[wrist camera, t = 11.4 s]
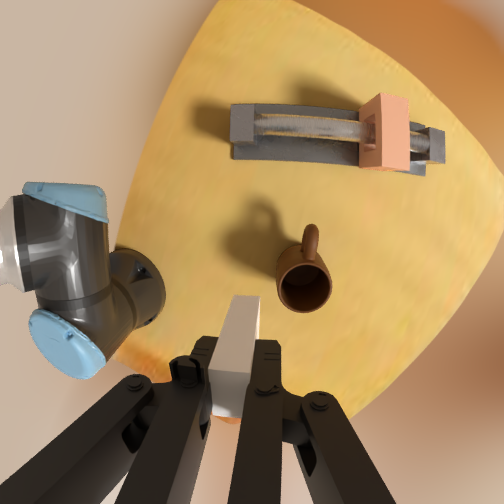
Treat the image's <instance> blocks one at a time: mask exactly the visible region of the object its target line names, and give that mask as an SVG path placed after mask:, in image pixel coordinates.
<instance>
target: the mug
mask: <svg viewBox="0 0 504 504" xmlns="http://www.w3.org/2000/svg"><path fill="white" fill-rule="evenodd" d="M318 240H319V231H318V228H317V226H316V225H314V224H309V225H307V226H306V227H305V230H304V233H303V238H302V244H301V245H296V246H292V247H290V248H288V249H287V250H285V251H284V252H283V253H282V254H281V256H280V257H279V259H278V262H277V269H276V285H277V291H278V296H279V298H280V300H281V302H282V303H283V304H284V305H285V306H286V307H287V308H288V309H290V310H292V311H294V312H298V313H309V312H313V311H315V310H317V309H319V308H321V307H322V306H323V305H324V304H325V303H326V302H327V301H328V299H329V297H330V295H331V292H332V280H331V277H330V273H329V271H328V269H327V267H326V265H325V263H324V262H323V260H322V258H321V257H320V255H319V254H318V253H317V252H316V251H317V247H318Z"/></svg>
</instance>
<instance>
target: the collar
mask: <svg viewBox="0 0 504 504" xmlns="http://www.w3.org/2000/svg"><path fill="white" fill-rule="evenodd" d="M359 122H366V123H372V124H375V126H376V145H373V144H366V143H359V168H362V169H371V170H378V171H410V126H409V107H408V99H406V98H402V97H398V96H394V95H389V94H385V93H379V94H378V95H376V96H375V97H374V98H373V99H371V100H370V101H369V102H367V103H366V104H365V105H363V106H362V107H361V108H360V109H359Z"/></svg>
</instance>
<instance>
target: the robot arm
mask: <svg viewBox="0 0 504 504" xmlns="http://www.w3.org/2000/svg"><path fill="white" fill-rule="evenodd" d="M22 192H23V193H24V194H23V195H17V196H11V197H10V198H9V200H8V201H7V202H6V204H5V205H4V207H3V208H2V209H1V210H0V285H3V284H7V283H9V284H12V285H13V286H14V287H16V288H17V289H19V290H20V291H21V292H27V291H32V290H35V293H36V298H37V302H38V307H39V308H38V309H36V310H34V311H33V312H32V315H31V316H30V320H29V330H30V333H31V336H32V338H33V340H34V342H35V344H36V346H37V347H38V349H39V350H40V352H41V353H42V354H43V355H44V357H45V358H46V359H47V360H48V361H49V362H50V363H51V364H52V365H53V366H55V367H56V368H57V369H58V370H60V371H61V372H63V373H64V374H66V375H68V376H71V377H73V378H77V379H88V378H90V377H92V376H94V374H96V372H98V371H99V369H100V368H102V367H104V366H105V365H106V363H107V361H108V360H109V359H110V357H111V356H112V355H113V354H114V353H115V351H116V350H117V349H118V348H119V346H120V345H121V344H122V343H123V341H124V340H125V339H126V338H127V336H128V335H129V334H130V333H131V332H132V331H133V330H136V329H138V328H141V327H143V326H146V325H148V324H150V323H151V322H152V321H154V320H155V319H156V317H157V316H158V315H159V314H160V312H161V311H162V309H163V307H164V304H165V298H166V292H165V286H164V282H163V279H162V277H161V275H160V273H159V271H158V270H157V268H156V267H155V265H154V264H153V263H152V262H151V261H150V260H149V259H148V258H147V257H145V256H144V255H142V254H141V253H139V252H136V251H134V250H130V249H119V250H115V251H113V252H111V253H109V242H108V223H109V219H108V218H107V205H106V195H105V193H104V191H103V190H102V189H101V188H100V187H98V186H95V185H83V184H66V183H44V182H43V183H42V182H26V183H25V184H24V187H23V189H22ZM259 315H260V296H245V295H233V298H232V301H231V304H230V307H229V310H228V313H227V315H226V318H225V321H224V324H223V327H222V330H221V333H220V336H219V337H211V336H202V337H201V338H200V339H199V340H197V341H196V343H195V346H194V349H193V350H192V352H191V354H190V356H188V355H184V356H179V357H176V358H175V359H173V360H172V361H171V362H170V363H169V366H170V371H171V376H172V381H170V382H166V383H152V382H151V381H150V379H149V378H148V377H146V376H145V375H141V374H133V375H129V376H127V377H125V378H123V379H122V380H121V381H120V382H119V383H118V384H117V385H115V386H114V387H113V388H112V389H111V390H110V391H109V392H108V393H106V394H105V395H104V396H103V397H102V398H101V399H100V400H98V401H97V402H96V403H95V404H94V405H93V406H92V407H90V408H89V409H88V410H87V411H86V412H85V413H84V414H82V415H81V416H80V417H79V418H78V419H77V420H75V421H74V422H73V423H72V424H71V425H70V426H69V427H67V428H66V429H65V430H64V431H63V432H62V433H61V434H60V435H58V436H57V437H56V438H55V439H54V440H52V441H51V442H50V443H49V444H48V445H47V446H46V447H44V448H43V449H42V450H41V451H40V452H38V453H37V454H36V455H35V456H34V457H33V458H31V459H30V460H29V461H28V462H27V463H26V464H24V465H23V466H22V467H21V468H20V469H19V470H17V471H16V472H15V473H14V474H13V475H11V476H10V477H9V478H8V479H7V480H6V481H4V482H3V483H2V484H1V485H0V504H100V503H101V502H102V501H103V499H104V498H105V497H106V496H107V495H108V494H109V493H110V492H111V491H112V490H113V488H114V487H115V486H116V485H117V484H118V483H119V482H120V480H121V479H122V478H123V477H124V476H125V475H126V474H127V472H128V471H129V472H128V474H127V476H126V479H125V481H124V483H123V485H122V488H121V490H120V492H119V494H118V496H117V499H116V501H115V503H114V504H190V501H191V497H192V494H193V490H194V486H195V482H196V479H197V475H198V471H199V467H200V463H201V460H202V456H203V452H204V448H205V444H206V441H207V437H208V433H209V429H210V425H211V420H210V415H211V411H213V415H216V416H224V417H234V418H242V419H241V426H240V432H239V439H238V444H237V450H236V456H235V462H234V468H233V474H232V480H231V485H230V491H229V497H228V503H227V504H280V500H281V499H280V498H281V471H282V441H283V442H287V443H290V444H293V447H294V450H295V453H296V456H297V459H298V461H299V464H300V467H301V470H302V473H303V475H304V478H305V481H306V484H307V486H308V489H309V492H310V495H311V497H312V500H313V503H314V504H396V502H395V501H394V499H393V497H392V495H391V494H390V492H389V490H388V488H387V487H386V485H385V483H384V481H383V480H382V478H381V476H380V474H379V473H378V471H377V469H376V467H375V466H374V464H373V462H372V460H371V459H370V457H369V455H368V453H367V452H366V450H365V448H364V447H363V445H362V443H361V441H360V440H359V438H358V436H357V434H356V432H355V431H354V429H353V427H352V425H351V424H350V422H349V420H348V418H347V417H346V415H345V413H344V411H343V410H342V408H341V406H340V404H339V403H338V401H337V399H336V398H335V397H334V396H333V395H331V394H329V393H327V392H323V391H314V392H311V393H308V394H307V395H305V396H304V397H301V396H297V395H294V394H291V393H289V392H288V391H286V390H285V389H284V387H283V386H282V382H281V346H280V344H279V343H278V342H277V340H261V339H258V338H259Z"/></svg>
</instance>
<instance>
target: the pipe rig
mask: <svg viewBox="0 0 504 504" xmlns="http://www.w3.org/2000/svg"><path fill="white" fill-rule="evenodd" d="M409 126H410V171H395V172H402V173H408V174H414V175H420V176H425V171H426V164H445V131H442V130H438V129H435V128H431V127H428V128H425V125H421V124H417V123H413V122H409ZM230 142H232V143H233V144H234V160H275V161H297V162H313V163H326V164H338V165H348V166H357V167H359V143H366V144H373V145H376V126H375V124H372V123H366V122H359V112H357V111H350V110H342V109H334V108H324V107H314V106H300V105H281V104H235V105H231V113H230Z"/></svg>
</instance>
